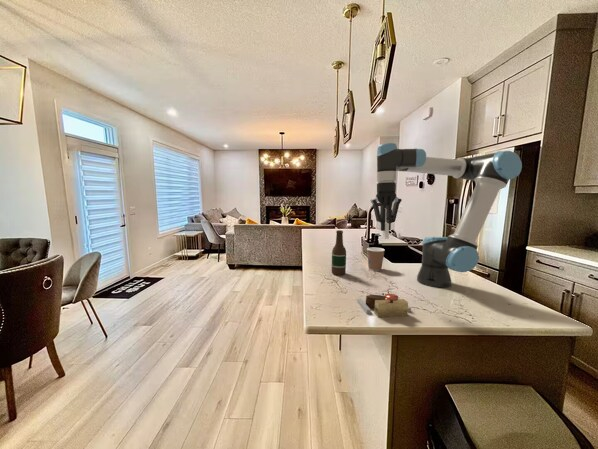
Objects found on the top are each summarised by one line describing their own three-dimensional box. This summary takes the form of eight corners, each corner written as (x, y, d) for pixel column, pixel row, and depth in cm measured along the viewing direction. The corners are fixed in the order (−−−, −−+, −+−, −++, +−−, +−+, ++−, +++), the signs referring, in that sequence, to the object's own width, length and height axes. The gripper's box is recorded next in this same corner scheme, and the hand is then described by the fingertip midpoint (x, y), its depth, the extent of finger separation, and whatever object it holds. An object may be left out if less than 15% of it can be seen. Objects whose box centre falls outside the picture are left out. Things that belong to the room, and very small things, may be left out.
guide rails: (397, 300, 102) (397, 297, 102) (410, 311, 92) (411, 307, 92) (357, 302, 100) (357, 298, 100) (366, 313, 90) (366, 309, 90)
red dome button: (402, 311, 93) (403, 293, 92) (408, 316, 88) (409, 297, 88) (373, 312, 91) (374, 294, 91) (378, 318, 87) (379, 299, 86)
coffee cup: (368, 265, 155) (369, 246, 153) (385, 268, 149) (386, 248, 148) (363, 269, 146) (364, 249, 145) (381, 272, 141) (382, 251, 139)
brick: (394, 308, 95) (395, 296, 95) (394, 313, 92) (395, 300, 91) (366, 304, 99) (366, 292, 99) (365, 308, 95) (365, 296, 95)
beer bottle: (345, 276, 134) (346, 231, 131) (330, 275, 135) (331, 231, 132) (345, 271, 141) (347, 229, 139) (331, 271, 143) (332, 229, 140)
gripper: (396, 182, 108) (395, 236, 111) (367, 183, 107) (367, 237, 109) (405, 181, 101) (404, 238, 103) (375, 182, 99) (374, 240, 102)
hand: (385, 238), depth 106 cm, fingers closed
